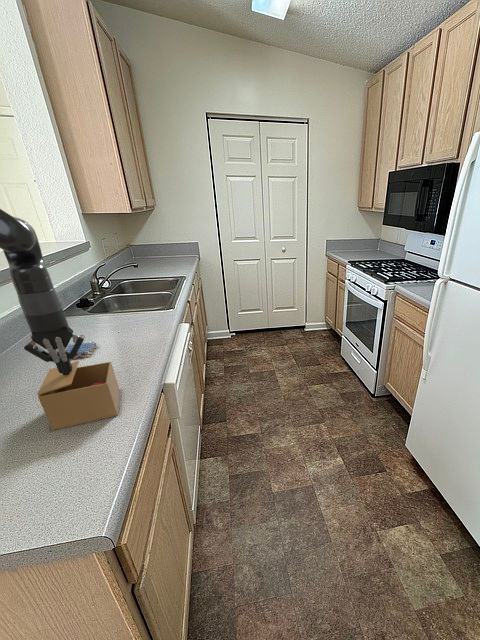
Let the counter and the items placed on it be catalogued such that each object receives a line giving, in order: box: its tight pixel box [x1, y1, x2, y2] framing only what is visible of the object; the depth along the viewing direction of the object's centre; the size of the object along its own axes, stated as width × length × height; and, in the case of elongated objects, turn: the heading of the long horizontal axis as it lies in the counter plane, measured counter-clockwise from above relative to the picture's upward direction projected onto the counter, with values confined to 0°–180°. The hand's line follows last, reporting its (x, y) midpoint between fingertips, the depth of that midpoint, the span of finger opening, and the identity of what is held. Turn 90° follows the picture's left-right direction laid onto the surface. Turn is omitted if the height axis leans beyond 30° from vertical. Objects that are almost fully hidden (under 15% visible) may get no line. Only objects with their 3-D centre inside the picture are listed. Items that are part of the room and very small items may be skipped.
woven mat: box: [67, 341, 98, 359], centre depth 125 cm, size 10×11×2 cm
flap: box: [36, 360, 80, 396], centre depth 86 cm, size 7×14×1 cm, turn 24°
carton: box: [37, 361, 121, 431], centre depth 90 cm, size 15×14×10 cm
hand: (67, 373), depth 86 cm, fingers closed
